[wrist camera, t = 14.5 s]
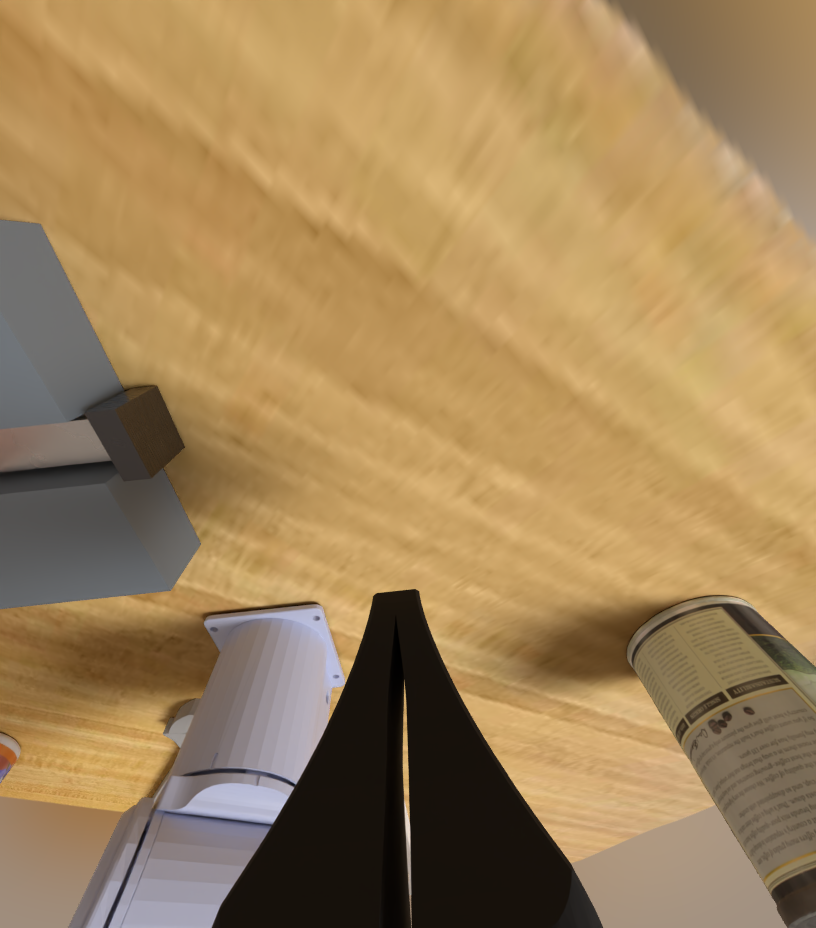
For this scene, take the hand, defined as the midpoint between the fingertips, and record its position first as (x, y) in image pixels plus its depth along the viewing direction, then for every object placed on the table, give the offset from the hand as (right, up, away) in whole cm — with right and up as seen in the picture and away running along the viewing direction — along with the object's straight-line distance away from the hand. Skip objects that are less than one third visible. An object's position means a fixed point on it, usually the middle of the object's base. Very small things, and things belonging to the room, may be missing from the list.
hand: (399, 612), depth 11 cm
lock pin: (-16, +6, +6) cm, 18 cm away
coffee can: (+23, -9, +18) cm, 31 cm away
